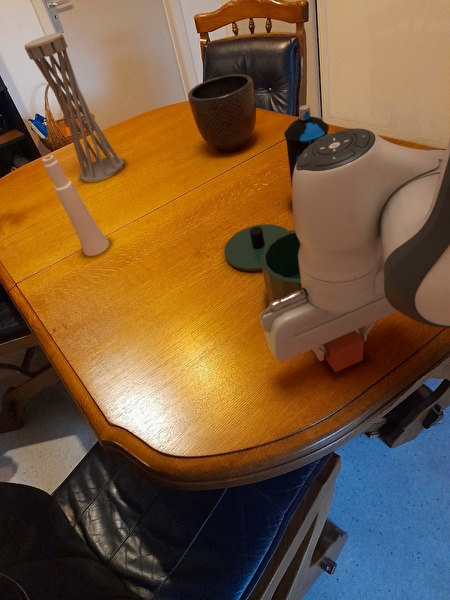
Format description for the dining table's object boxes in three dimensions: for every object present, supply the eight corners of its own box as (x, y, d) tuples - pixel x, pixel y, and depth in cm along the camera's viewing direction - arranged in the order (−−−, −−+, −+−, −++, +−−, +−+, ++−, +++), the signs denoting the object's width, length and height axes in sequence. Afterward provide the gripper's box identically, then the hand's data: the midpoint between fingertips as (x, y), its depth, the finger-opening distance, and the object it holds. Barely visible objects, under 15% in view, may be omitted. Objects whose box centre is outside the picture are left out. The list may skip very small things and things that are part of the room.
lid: (290, 223, 83) (287, 204, 80) (299, 266, 73) (296, 245, 70) (225, 235, 85) (220, 216, 82) (225, 278, 75) (220, 259, 72)
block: (345, 338, 60) (345, 318, 57) (363, 360, 57) (363, 340, 54) (319, 350, 59) (317, 331, 56) (335, 372, 56) (334, 353, 53)
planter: (205, 138, 123) (190, 82, 112) (261, 127, 120) (252, 68, 109) (200, 165, 111) (183, 105, 100) (262, 153, 108) (252, 90, 97)
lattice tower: (74, 175, 125) (9, 48, 101) (110, 156, 130) (56, 30, 106) (94, 186, 116) (27, 49, 92) (132, 165, 121) (78, 30, 97)
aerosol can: (285, 201, 89) (274, 108, 75) (319, 188, 90) (313, 94, 76) (303, 218, 83) (294, 121, 69) (339, 204, 84) (337, 105, 70)
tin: (338, 267, 71) (336, 222, 64) (354, 319, 62) (354, 273, 55) (266, 278, 73) (258, 236, 66) (272, 331, 64) (263, 288, 57)
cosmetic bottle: (112, 247, 91) (65, 155, 76) (88, 260, 90) (35, 168, 75) (105, 236, 95) (59, 147, 80) (81, 248, 94) (30, 159, 79)
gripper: (269, 327, 44) (283, 395, 53) (432, 257, 46) (418, 334, 55) (247, 292, 48) (264, 361, 58) (396, 230, 51) (389, 306, 60)
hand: (340, 347), depth 57 cm, fingers closed on block, 4 cm apart
